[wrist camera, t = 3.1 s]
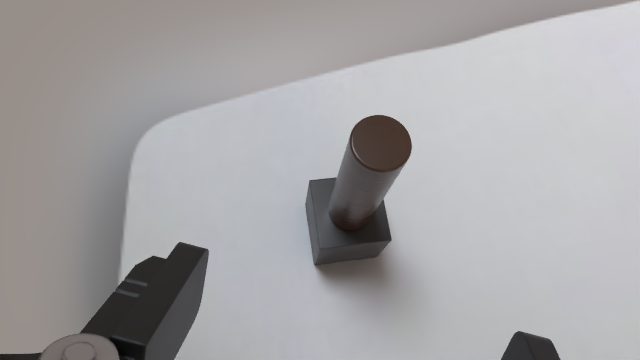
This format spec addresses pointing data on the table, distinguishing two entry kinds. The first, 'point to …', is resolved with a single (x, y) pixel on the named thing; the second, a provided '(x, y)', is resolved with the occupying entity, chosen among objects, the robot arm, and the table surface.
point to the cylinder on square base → (357, 193)
